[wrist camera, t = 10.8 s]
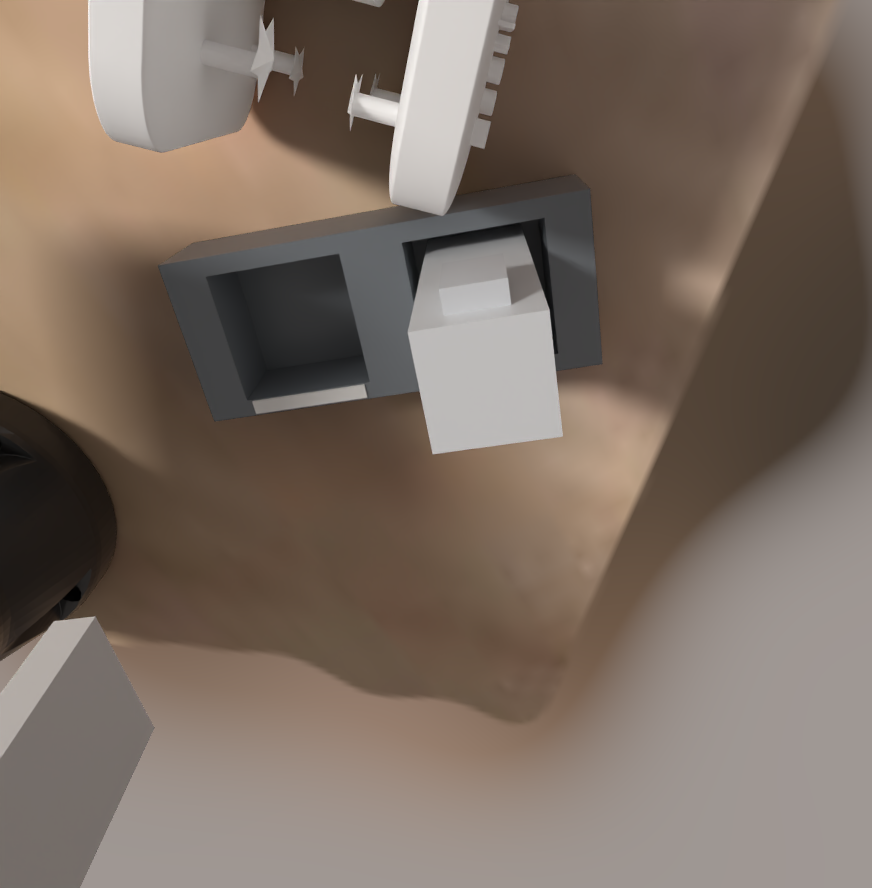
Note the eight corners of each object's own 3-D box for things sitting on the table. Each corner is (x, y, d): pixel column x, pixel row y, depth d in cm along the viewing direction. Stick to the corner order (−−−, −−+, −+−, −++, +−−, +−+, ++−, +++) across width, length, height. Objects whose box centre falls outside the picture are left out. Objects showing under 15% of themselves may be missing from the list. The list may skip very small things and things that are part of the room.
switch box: (240, 385, 35) (213, 422, 31) (192, 243, 31) (156, 266, 28) (587, 331, 33) (602, 364, 29) (575, 174, 29) (590, 189, 26)
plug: (443, 327, 32) (432, 454, 22) (424, 220, 30) (401, 305, 19) (530, 313, 32) (562, 436, 21) (517, 204, 30) (546, 281, 19)
